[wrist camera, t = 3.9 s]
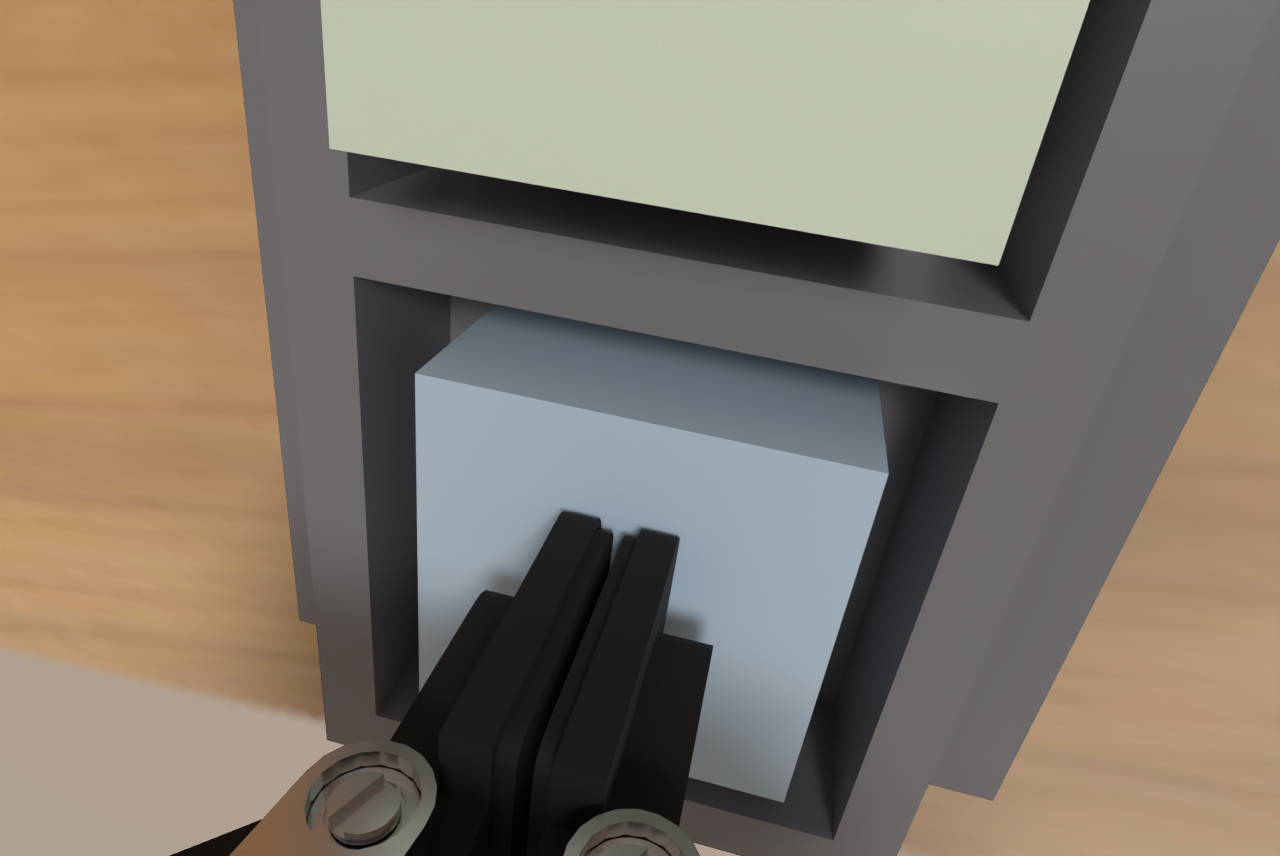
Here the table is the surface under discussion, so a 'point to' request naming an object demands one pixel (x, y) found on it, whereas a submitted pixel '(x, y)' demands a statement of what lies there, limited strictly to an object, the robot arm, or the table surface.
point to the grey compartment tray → (809, 335)
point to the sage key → (720, 104)
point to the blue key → (658, 502)
